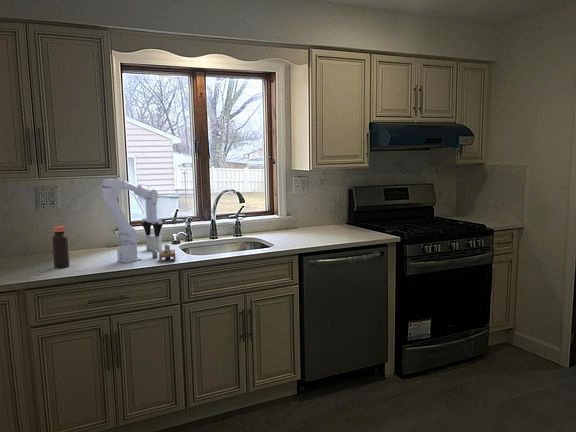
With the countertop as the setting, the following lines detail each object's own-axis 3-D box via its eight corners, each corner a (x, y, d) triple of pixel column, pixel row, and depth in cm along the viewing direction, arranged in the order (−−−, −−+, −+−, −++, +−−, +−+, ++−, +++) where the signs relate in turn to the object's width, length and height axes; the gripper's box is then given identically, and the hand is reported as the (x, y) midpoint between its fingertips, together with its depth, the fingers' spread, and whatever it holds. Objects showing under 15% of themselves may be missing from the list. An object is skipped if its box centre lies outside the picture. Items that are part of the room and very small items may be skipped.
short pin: (154, 258, 249) (154, 251, 248) (151, 258, 250) (151, 250, 250) (158, 257, 251) (158, 250, 250) (155, 257, 252) (155, 249, 252)
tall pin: (167, 261, 243) (167, 245, 242) (164, 260, 244) (163, 245, 243) (171, 260, 245) (170, 244, 244) (167, 259, 247) (167, 244, 245)
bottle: (71, 265, 235) (69, 225, 233) (65, 268, 229) (63, 227, 226) (58, 265, 235) (55, 225, 233) (51, 268, 228) (48, 228, 226)
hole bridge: (175, 261, 241) (175, 253, 241) (159, 262, 239) (159, 253, 239) (175, 258, 250) (174, 249, 249) (159, 258, 248) (159, 250, 247)
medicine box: (162, 249, 273) (162, 234, 272) (158, 251, 269) (157, 236, 268) (150, 248, 275) (149, 234, 274) (146, 250, 271) (145, 235, 270)
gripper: (166, 211, 255) (167, 236, 256) (149, 209, 263) (150, 233, 265) (155, 212, 249) (156, 238, 251) (138, 211, 257) (139, 235, 259)
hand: (152, 236), depth 257 cm, fingers open, 7 cm apart
